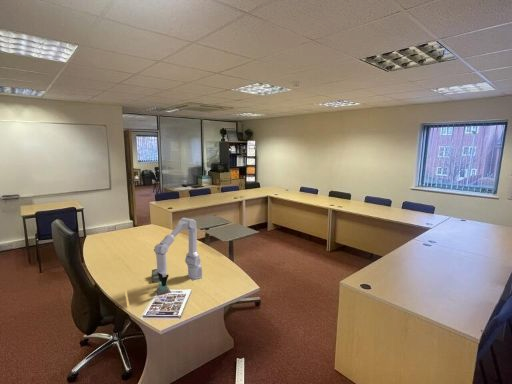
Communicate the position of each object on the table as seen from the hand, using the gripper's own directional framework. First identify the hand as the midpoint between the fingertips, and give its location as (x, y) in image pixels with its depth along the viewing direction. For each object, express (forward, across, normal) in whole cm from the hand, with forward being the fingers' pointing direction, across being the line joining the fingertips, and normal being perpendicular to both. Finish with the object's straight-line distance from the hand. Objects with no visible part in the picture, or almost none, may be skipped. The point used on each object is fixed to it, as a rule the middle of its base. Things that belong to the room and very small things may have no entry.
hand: (162, 283), depth 171 cm
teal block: (+3, 0, 0) cm, 3 cm away
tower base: (+7, 0, 0) cm, 7 cm away
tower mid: (+5, 0, 0) cm, 5 cm away
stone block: (+7, -22, 0) cm, 23 cm away
